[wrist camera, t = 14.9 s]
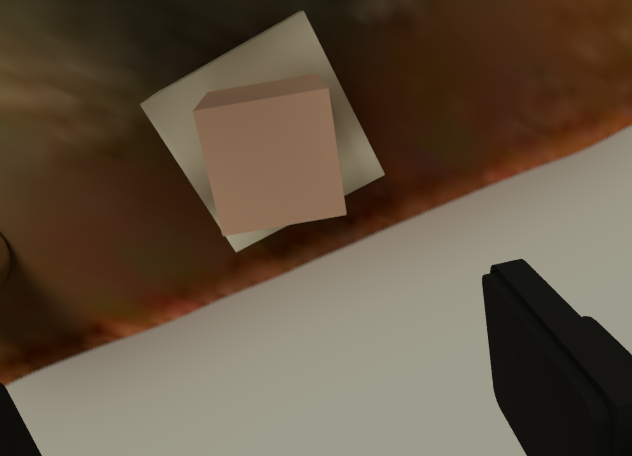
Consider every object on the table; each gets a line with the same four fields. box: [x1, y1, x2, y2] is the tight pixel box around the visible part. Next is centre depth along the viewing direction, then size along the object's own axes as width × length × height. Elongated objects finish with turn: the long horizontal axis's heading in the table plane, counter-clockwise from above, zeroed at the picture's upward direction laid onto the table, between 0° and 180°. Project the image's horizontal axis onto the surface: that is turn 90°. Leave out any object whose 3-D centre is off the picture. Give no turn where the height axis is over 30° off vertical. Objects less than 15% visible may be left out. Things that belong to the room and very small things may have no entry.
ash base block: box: [140, 11, 385, 252], centre depth 33 cm, size 10×10×5 cm
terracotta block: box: [193, 73, 347, 236], centre depth 28 cm, size 6×6×6 cm
